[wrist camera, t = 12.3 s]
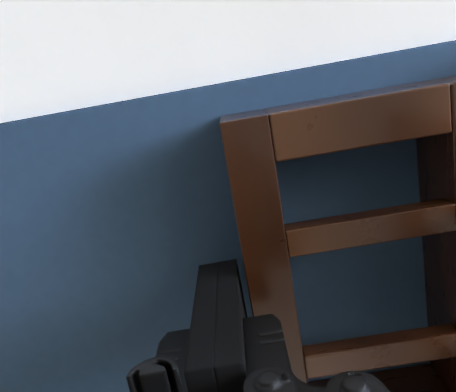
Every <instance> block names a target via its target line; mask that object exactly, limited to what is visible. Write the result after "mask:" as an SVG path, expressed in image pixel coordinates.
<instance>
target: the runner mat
mask: <svg viewBox="0 0 456 392" xmlns="http://www.w3.org/2000/svg"><path fill="white" fill-rule="evenodd" d="M448 76H456V40H455V41H449V42H444V43H439V44H433V45H428V46H422V47H417V48H411V49H406V50H400V51H395V52H389V53H384V54H378V55H373V56H367V57H362V58H356V59H351V60H345V61H340V62H335V63H329V64H324V65H318V66H313V67H307V68H302V69H296V70H291V71H285V72H280V73H274V74H269V75H263V76H258V77H252V78H247V79H241V80H236V81H231V82H225V83H220V84H214V85H209V86H203V87H198V88H192V89H187V90H181V91H176V92H170V93H165V94H159V95H154V96H148V97H143V98H137V99H132V100H127V101H121V102H116V103H110V104H105V105H99V106H94V107H88V108H83V109H77V110H72V111H66V112H61V113H55V114H50V115H44V116H39V117H33V118H28V119H23V120H17V121H12V122H6V123H1V124H0V392H130V390H129V387H128V383H127V379H126V376H127V374H128V373H129V371H130V370H131V369H132V368H133V367H134V366H136V365H137V364H139V363H140V362H142V361H144V360H146V359H150V358H154V357H155V356H156V354H157V349H158V345H159V342H160V341H161V339H162V338H163V337H164V336H165V335H166V333H167V332H171V331H178V330H184V329H190V324H191V318H192V311H193V304H194V297H195V290H196V283H197V276H198V269H199V265H204V264H209V263H215V262H221V261H227V260H233V259H237V264H238V270H239V275H240V280H241V285H242V291H243V296H244V301H245V307H246V312H247V317H248V318H249V317H253V315H252V309H251V303H250V298H249V292H248V286H247V280H246V275H245V269H244V263H243V257H242V252H241V246H240V240H239V234H238V229H237V223H236V217H235V211H234V206H233V200H232V194H231V189H230V183H229V177H228V171H227V166H226V160H225V154H224V148H223V143H222V137H221V131H220V125H219V123H220V117H221V116H223V115H229V114H234V113H240V112H246V111H252V110H257V109H261V110H262V109H264V108H269V107H275V106H281V105H287V104H292V103H298V102H304V101H310V100H315V99H321V98H327V97H333V96H338V95H344V94H350V93H356V92H361V91H367V90H373V89H379V88H384V87H390V86H396V85H402V84H408V83H415V82H419V81H425V80H431V79H436V78H442V77H448ZM275 164H276V171H277V178H278V185H279V192H280V198H281V205H282V212H283V219H284V224H288V223H294V222H301V221H307V220H313V219H319V218H325V217H331V216H337V215H343V214H350V213H356V212H362V211H368V210H374V209H380V208H386V207H392V206H399V205H405V204H411V203H417V202H420V191H419V175H418V159H417V143H416V139H411V140H405V141H399V142H393V143H387V144H382V145H376V146H370V147H364V148H358V149H352V150H346V151H340V152H334V153H328V154H322V155H316V156H310V157H305V158H299V159H293V160H287V161H281V162H276V161H275ZM289 260H290V267H291V274H292V281H293V288H294V295H295V302H296V309H297V315H298V322H299V329H300V336H301V343H302V346H303V345H310V344H316V343H323V342H329V341H336V340H342V339H349V338H356V337H362V336H369V335H375V334H382V333H388V332H395V331H401V330H408V329H414V328H421V327H428V320H427V304H426V288H425V272H424V256H423V240H422V236H420V237H414V238H408V239H402V240H395V241H389V242H383V243H377V244H370V245H364V246H358V247H352V248H346V249H339V250H333V251H327V252H321V253H314V254H308V255H302V256H296V257H289ZM423 364H430V361H425V362H419V363H412V364H405V365H399V366H392V367H385V368H379V369H372V370H365V371H363V372H366V373H369V372H376V371H382V370H389V369H396V368H402V367H409V366H416V365H423ZM333 376H335V375H332V376H325V377H319V378H312V379H308V378H307V382H309V381H316V380H322V379H329V378H332V377H333Z"/></svg>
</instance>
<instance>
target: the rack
mask: <svg viewBox="0 0 456 392" xmlns="http://www.w3.org/2000/svg"><path fill="white" fill-rule="evenodd" d="M219 125H220V131H221V137H222V143H223V148H224V154H225V160H226V166H227V171H228V177H229V183H230V189H231V194H232V200H233V206H234V211H235V217H236V223H237V229H238V234H239V240H240V246H241V252H242V257H243V263H244V269H245V275H246V280H247V286H248V292H249V298H250V303H251V309H252V315H253V317H255V316H261V315H267V314H273V315H274V316H276V317H277V318H278V319H279V320H280V321H281V325H282V330H283V334H284V338H285V343H286V347H287V351H288V356H289V360H290V364H291V369H292V371H293V373H294V375H295V376H296V377H297V378H298V379H299V380H301V381H303V382H305V383H307V384H310V385H316V386H326V387H327V383H328V382H329V381H330V380H331V378H329V379H322V380H316V381H309V382H307V378H308V379H312V378H319V377H325V376H332V375H337V374H339V373H341V372H346V371H365V370H372V369H379V368H385V367H392V366H399V365H405V364H412V363H419V362H425V361H430V364H423V365H416V366H409V367H402V368H396V369H389V370H382V371H376V372H369V374H372V375H373V376H375V377H376V378H377V379H379V380H380V381H381V382H382V383H383V384H384V385H385V386H386V388H387V389H388V390H389V391H390V392H456V76H448V77H442V78H436V79H431V80H425V81H419V82H415V83H408V84H402V85H396V86H390V87H384V88H379V89H373V90H367V91H361V92H356V93H350V94H344V95H338V96H333V97H327V98H321V99H315V100H310V101H304V102H298V103H292V104H287V105H281V106H275V107H269V108H264V109H262V110H261V109H257V110H252V111H246V112H240V113H234V114H229V115H223V116H221V117H220V123H219ZM411 139H416V143H417V159H418V175H419V191H420V202H417V203H411V204H405V205H399V206H392V207H386V208H380V209H374V210H368V211H362V212H356V213H350V214H343V215H337V216H331V217H325V218H319V219H313V220H307V221H301V222H294V223H288V224H284V219H283V212H282V205H281V198H280V192H279V185H278V178H277V171H276V164H275V161H276V162H281V161H287V160H293V159H299V158H305V157H310V156H316V155H322V154H328V153H334V152H340V151H346V150H352V149H358V148H364V147H370V146H376V145H382V144H387V143H393V142H399V141H405V140H411ZM420 236H422V240H423V256H424V272H425V288H426V304H427V320H428V327H421V328H414V329H408V330H401V331H395V332H388V333H382V334H375V335H369V336H362V337H356V338H349V339H342V340H336V341H329V342H323V343H316V344H310V345H303V346H302V343H301V336H300V329H299V322H298V315H297V309H296V302H295V295H294V288H293V281H292V274H291V267H290V260H289V257H296V256H302V255H308V254H314V253H321V252H327V251H333V250H339V249H346V248H352V247H358V246H364V245H370V244H377V243H383V242H389V241H395V240H402V239H408V238H414V237H420Z"/></svg>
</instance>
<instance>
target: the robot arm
mask: <svg viewBox="0 0 456 392" xmlns="http://www.w3.org/2000/svg"><path fill="white" fill-rule="evenodd" d="M126 379H127V383H128V387H129V390H130V392H390V391H389V390H388V389H387V388H386V386H385V385H384V384H383V383H382V382H381V381H380V380H379V379H377V378H376V377H375V376H373V375H372V374H369V373H366V372H363V371H346V372H341V373H339V374H337V375H335V376H333V377H332V378H331V380H330V381H329V382H328V383H327V387H326V386H316V385H310V384H307V383H305V382H303V381H301V380H299V379H298V378H297V377H296V376H295V375H294V373H293V371H292V369H291V364H290V360H289V356H288V351H287V347H286V343H285V338H284V334H283V330H282V325H281V321H280V320H279V319H278V318H277V317H276V316H274V315H273V314H267V315H261V316H255V317H249V318H248V317H247V312H246V307H245V301H244V296H243V291H242V285H241V280H240V275H239V270H238V264H237V259H233V260H227V261H221V262H215V263H209V264H204V265H199V269H198V276H197V283H196V290H195V297H194V304H193V311H192V318H191V324H190V329H184V330H178V331H171V332H167V333H166V335H165V336H164V337H163V338H162V339H161V341H160V342H159V345H158V349H157V354H156V356H155V357H154V358H150V359H146V360H144V361H142V362H140V363H139V364H137V365H136V366H134V367H133V368H132V369H131V370H130V371H129V373H128V374H127V376H126Z"/></svg>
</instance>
